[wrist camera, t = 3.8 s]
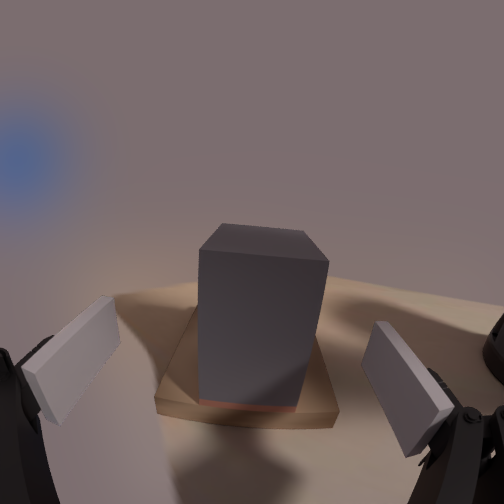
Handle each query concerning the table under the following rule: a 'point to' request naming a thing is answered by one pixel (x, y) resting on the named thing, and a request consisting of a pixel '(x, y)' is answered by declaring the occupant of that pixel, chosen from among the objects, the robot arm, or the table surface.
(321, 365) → the oak board
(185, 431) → the table surface
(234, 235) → the block
